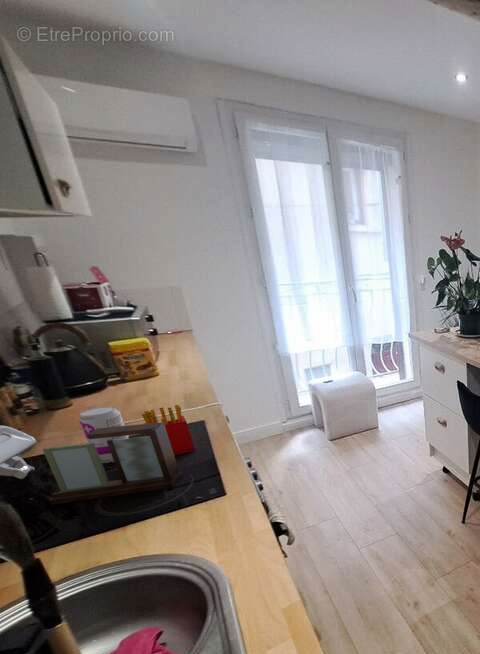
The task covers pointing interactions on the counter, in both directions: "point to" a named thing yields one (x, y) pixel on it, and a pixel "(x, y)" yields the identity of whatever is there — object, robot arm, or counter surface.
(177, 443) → the french fries container
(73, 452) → the sliding pane
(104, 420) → the supplement can
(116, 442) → the window frame
